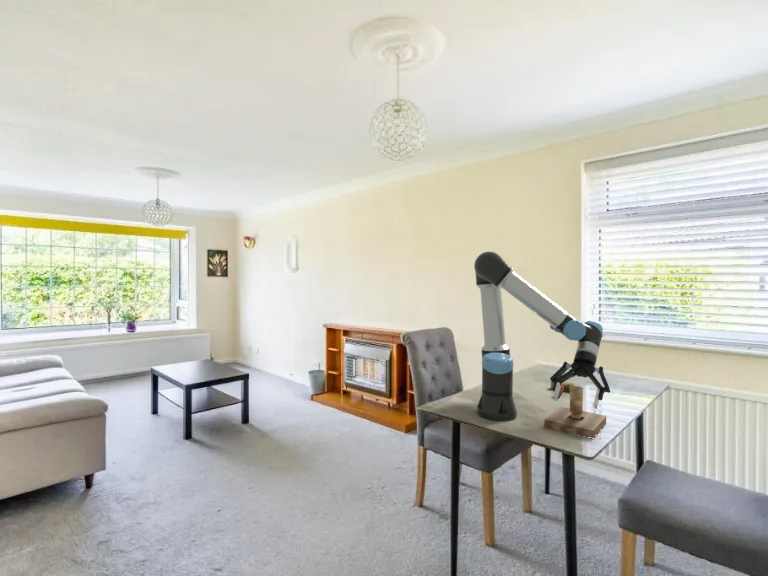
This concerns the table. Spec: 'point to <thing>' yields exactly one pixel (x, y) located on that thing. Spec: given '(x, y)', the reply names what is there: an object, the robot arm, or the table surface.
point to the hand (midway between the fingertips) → (574, 402)
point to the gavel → (563, 387)
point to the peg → (576, 402)
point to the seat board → (575, 422)
